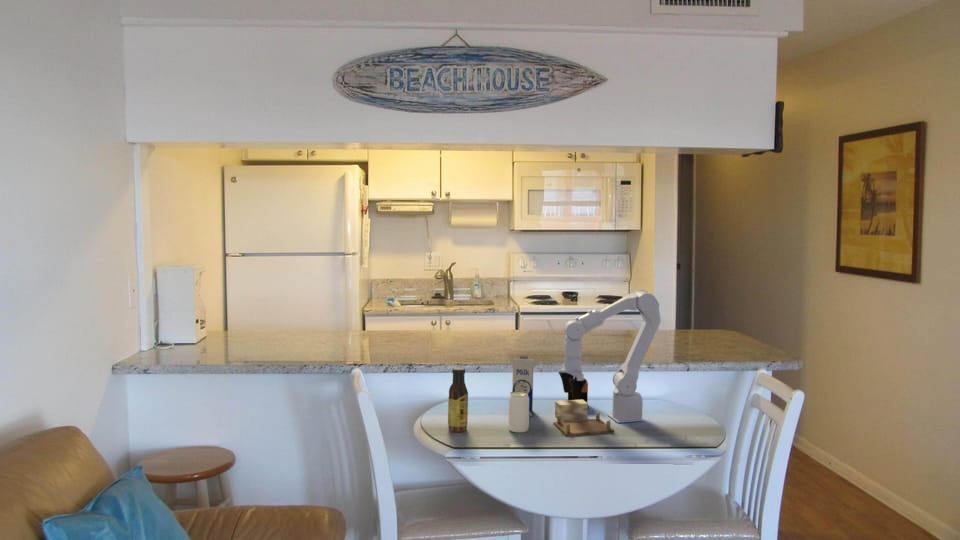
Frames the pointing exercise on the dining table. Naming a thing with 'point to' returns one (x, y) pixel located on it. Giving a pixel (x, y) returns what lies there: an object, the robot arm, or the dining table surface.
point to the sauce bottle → (458, 402)
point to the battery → (583, 393)
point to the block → (571, 409)
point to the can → (518, 412)
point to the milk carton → (524, 378)
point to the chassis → (583, 426)
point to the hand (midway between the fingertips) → (571, 395)
